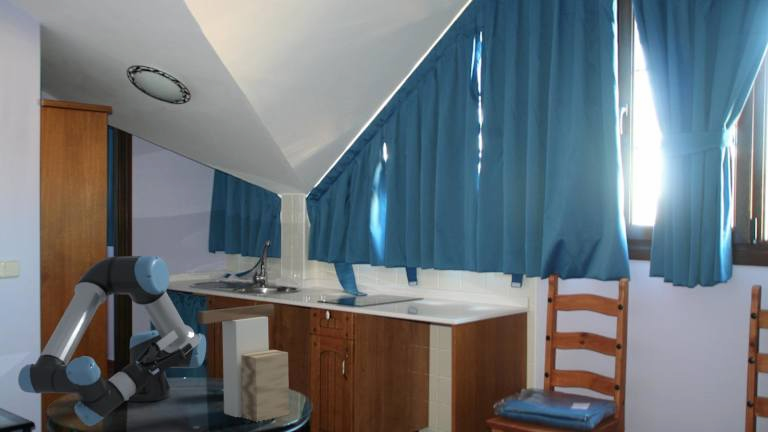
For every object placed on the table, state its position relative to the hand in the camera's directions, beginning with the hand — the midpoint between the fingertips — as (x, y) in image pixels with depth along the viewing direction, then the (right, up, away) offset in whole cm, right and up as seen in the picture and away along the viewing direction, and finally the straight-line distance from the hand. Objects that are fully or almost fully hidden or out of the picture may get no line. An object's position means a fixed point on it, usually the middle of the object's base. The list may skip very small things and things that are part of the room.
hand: (186, 335), depth 219 cm
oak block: (+22, -26, +8) cm, 36 cm away
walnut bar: (+13, +3, +13) cm, 18 cm away
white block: (+15, -27, +14) cm, 34 cm away
